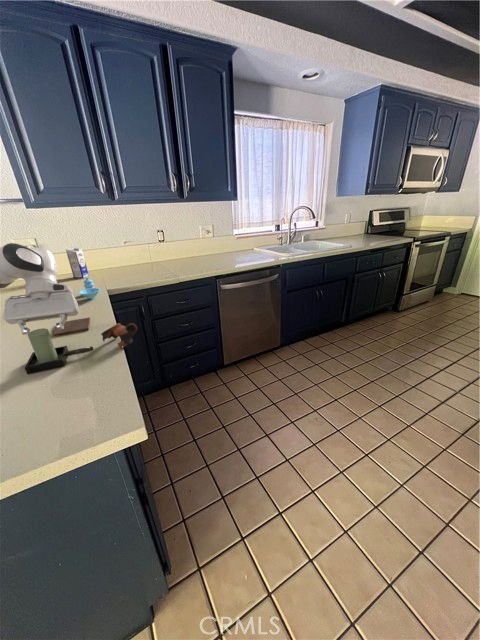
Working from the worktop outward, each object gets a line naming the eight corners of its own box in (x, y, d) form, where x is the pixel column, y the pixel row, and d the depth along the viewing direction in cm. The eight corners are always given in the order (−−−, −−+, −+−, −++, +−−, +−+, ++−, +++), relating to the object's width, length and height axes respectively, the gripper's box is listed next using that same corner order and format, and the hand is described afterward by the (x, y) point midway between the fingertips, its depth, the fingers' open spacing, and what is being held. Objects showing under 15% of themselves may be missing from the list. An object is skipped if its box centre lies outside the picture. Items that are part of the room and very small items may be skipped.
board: (53, 336, 102) (52, 334, 101) (58, 324, 112) (58, 322, 111) (88, 330, 106) (87, 328, 106) (90, 319, 116) (89, 317, 116)
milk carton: (80, 276, 187) (71, 247, 179) (89, 275, 187) (81, 247, 179) (73, 278, 181) (65, 249, 173) (83, 278, 181) (75, 248, 172)
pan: (27, 374, 79) (24, 367, 78) (35, 358, 87) (32, 352, 86) (94, 359, 86) (92, 353, 85) (95, 346, 94) (93, 340, 93)
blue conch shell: (102, 299, 140) (98, 283, 136) (80, 303, 135) (75, 286, 132) (101, 290, 154) (97, 275, 150) (81, 293, 150) (76, 278, 146)
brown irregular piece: (113, 354, 90) (99, 333, 88) (111, 354, 98) (97, 335, 96) (144, 334, 95) (131, 315, 94) (139, 336, 103) (127, 318, 102)
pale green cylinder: (38, 368, 82) (25, 337, 77) (41, 360, 86) (29, 330, 82) (57, 364, 84) (46, 333, 79) (60, 356, 88) (49, 327, 83)
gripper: (-1, 292, 82) (-3, 333, 78) (72, 284, 88) (75, 322, 84) (10, 301, 88) (9, 340, 84) (79, 293, 94) (81, 329, 90)
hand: (43, 331), depth 84 cm, fingers open, 8 cm apart
